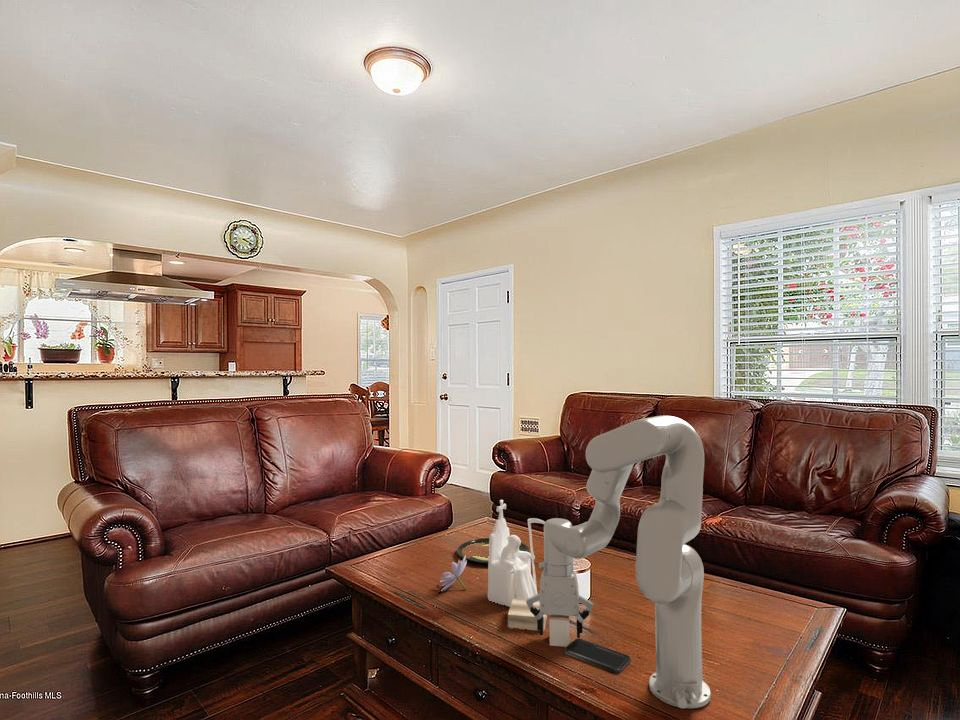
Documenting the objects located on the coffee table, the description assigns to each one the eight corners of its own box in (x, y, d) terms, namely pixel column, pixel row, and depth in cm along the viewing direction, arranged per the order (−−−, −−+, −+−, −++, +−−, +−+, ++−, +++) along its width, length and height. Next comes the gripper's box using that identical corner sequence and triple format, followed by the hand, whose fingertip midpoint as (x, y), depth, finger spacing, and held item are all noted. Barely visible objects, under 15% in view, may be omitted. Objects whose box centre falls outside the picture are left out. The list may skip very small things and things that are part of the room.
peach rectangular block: (569, 646, 134) (569, 618, 134) (549, 645, 134) (549, 617, 135) (569, 637, 138) (568, 610, 139) (550, 635, 139) (549, 608, 139)
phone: (618, 671, 121) (562, 649, 131) (618, 676, 121) (562, 654, 131) (632, 656, 127) (577, 637, 137) (632, 661, 127) (578, 641, 137)
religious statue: (522, 614, 152) (523, 511, 152) (484, 602, 160) (485, 503, 160) (551, 593, 166) (551, 499, 166) (514, 583, 174) (515, 492, 174)
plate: (541, 550, 206) (541, 544, 206) (507, 574, 182) (507, 567, 183) (481, 539, 221) (481, 533, 221) (442, 560, 197) (442, 553, 197)
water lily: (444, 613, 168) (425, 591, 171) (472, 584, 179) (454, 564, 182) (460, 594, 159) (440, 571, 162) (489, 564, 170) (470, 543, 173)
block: (544, 632, 142) (544, 617, 142) (507, 629, 144) (507, 614, 144) (547, 615, 152) (546, 601, 152) (512, 612, 154) (512, 599, 154)
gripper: (524, 571, 135) (525, 639, 134) (593, 575, 132) (594, 644, 131) (526, 561, 142) (527, 625, 142) (591, 564, 139) (593, 629, 139)
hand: (559, 634), depth 136 cm, fingers open, 9 cm apart
